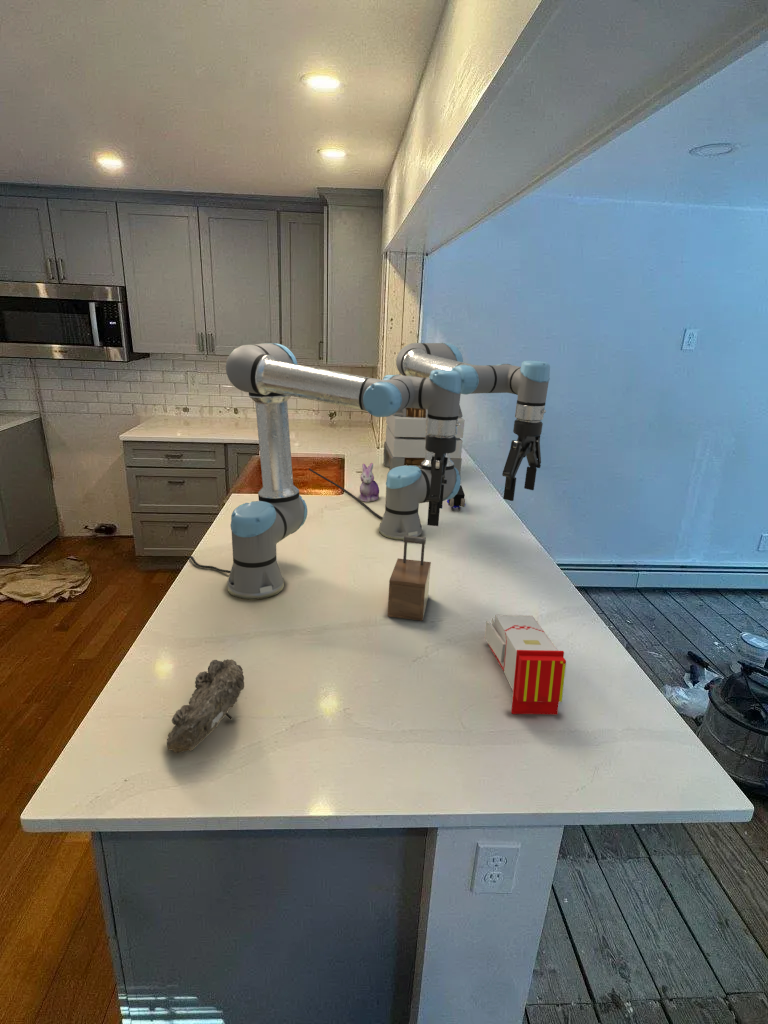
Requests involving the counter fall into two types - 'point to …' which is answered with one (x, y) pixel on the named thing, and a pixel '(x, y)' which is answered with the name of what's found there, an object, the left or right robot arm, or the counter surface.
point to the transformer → (413, 439)
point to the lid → (411, 566)
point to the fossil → (206, 705)
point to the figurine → (368, 485)
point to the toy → (527, 663)
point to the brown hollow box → (408, 601)
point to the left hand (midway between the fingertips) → (435, 516)
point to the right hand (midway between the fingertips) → (518, 494)
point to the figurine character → (457, 500)
